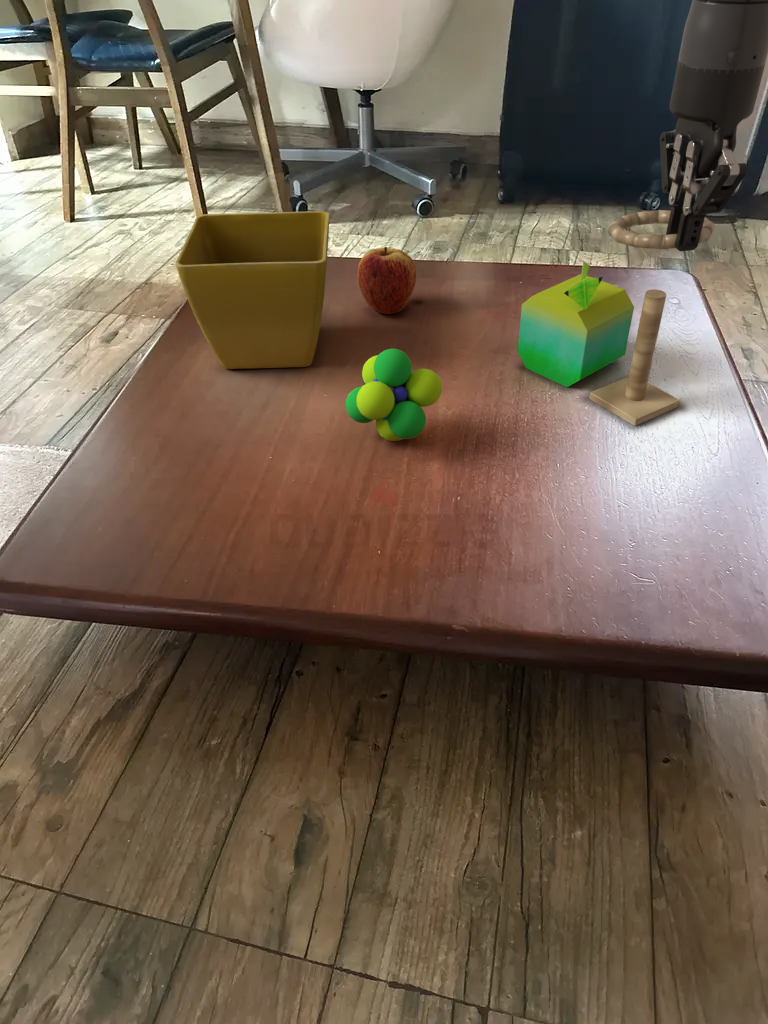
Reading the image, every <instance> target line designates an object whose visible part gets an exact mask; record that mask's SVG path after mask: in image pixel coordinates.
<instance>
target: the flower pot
mask: <svg viewBox="0 0 768 1024" xmlns="http://www.w3.org/2000/svg"><path fill="white" fill-rule="evenodd" d="M194 219H195V220H194V222H193V224H192V226H191V229H190V231H189V233H188V236H187V237H186V240H185V242H184V244H183V247H182V248H181V251H180V252H179V255H178V257H177V259H176V261H175V267H176V270H177V274H178V277H179V280H180V282H181V285H182V288H183V291H184V293H185V296H186V298H187V301H188V304H189V306H190V308H191V311H192V313H193V315H194V317H195V320H196V322H197V324H198V327H199V328H200V329H201V332H202V334H203V336H204V338H205V340H206V342H207V343H208V345H209V347H210V348H211V350H212V352H213V354H214V356H215V357H216V359H217V361H218V362H219V363H220V365H221V367H222V368H224V369H226V370H239V369H241V370H242V369H275V368H277V369H278V368H279V369H281V368H305V367H309V366H310V365H312V363H313V360H314V357H315V352H316V349H317V344H318V340H319V336H320V335H319V334H320V329H321V323H322V316H323V308H324V301H325V291H326V290H325V289H326V279H327V265H328V253H329V251H328V250H329V235H330V233H329V232H330V213H329V212H328V211H325V210H315V211H314V210H313V211H311V210H310V211H277V212H275V211H274V212H273V211H272V212H270V211H269V212H235V213H206V214H200V215H198V216H196V217H195V218H194Z"/></svg>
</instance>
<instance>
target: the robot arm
mask: <svg viewBox="0 0 768 1024" xmlns="http://www.w3.org/2000/svg"><path fill="white" fill-rule="evenodd" d="M767 60H768V0H692V1H691V4H690V8H689V11H688V13H687V18H686V21H685V25H684V29H683V33H682V37H681V44H680V48H679V54H678V59H677V64H676V68H675V69H676V70H675V74H674V80H673V84H672V90H671V96H670V101H669V106H668V107H669V111H670V113H671V114H672V115H673V116H675V117H676V118H678V119H677V122H676V123H675V124H676V125H675V129H673V130H671V131H663V132H661V133H660V136H659V150H660V151H659V153H660V154H659V155H660V170H661V171H660V172H661V190H662V193H663V194H668V204H669V205H670V206H671V208H670V211H671V212H670V217H669V222H668V224H667V228H666V231H665V235H670V234H677V237H676V242H675V248H674V249H676V250H677V251H679V252H687V251H694V250H696V249H697V248H698V246H699V244H700V243H699V240H700V235H701V231H702V227H703V223H704V219H705V217H706V216H707V215H710V214H719V213H721V212H722V211H723V209H724V207H726V205H727V203H728V201H729V200H730V199H731V197H732V196H733V194H734V193H735V191H736V190H737V188H738V187H739V185H740V184H741V182H742V181H743V179H744V178H745V177H746V175H747V173H748V165H747V163H746V162H739V163H737V160H736V158H735V155H734V151H735V149H736V146H737V132H738V131H737V130H738V126H739V125H740V123H741V122H742V121H744V120H746V119H748V118H749V117H750V116H751V115H752V114H753V112H754V111H755V105H756V103H757V98H758V95H759V90H760V87H761V83H762V79H763V74H764V71H765V67H766V63H767ZM699 192H700V194H699Z"/></svg>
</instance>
